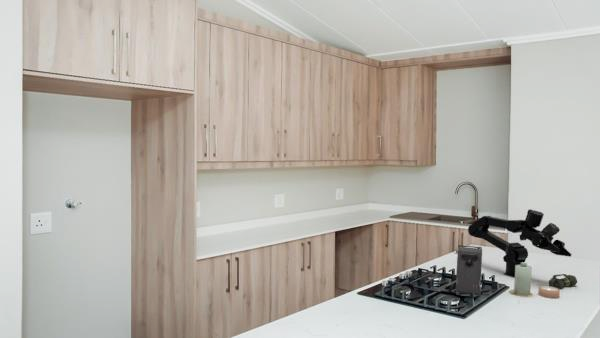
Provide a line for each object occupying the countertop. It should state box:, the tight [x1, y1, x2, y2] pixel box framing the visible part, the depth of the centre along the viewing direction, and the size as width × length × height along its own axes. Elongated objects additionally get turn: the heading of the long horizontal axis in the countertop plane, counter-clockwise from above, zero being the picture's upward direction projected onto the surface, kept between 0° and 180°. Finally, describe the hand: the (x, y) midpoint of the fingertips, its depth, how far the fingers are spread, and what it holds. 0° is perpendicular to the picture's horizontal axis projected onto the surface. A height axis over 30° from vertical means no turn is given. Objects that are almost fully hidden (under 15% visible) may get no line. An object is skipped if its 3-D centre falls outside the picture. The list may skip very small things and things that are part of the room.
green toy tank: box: [548, 273, 578, 290], centre depth 220 cm, size 6×5×18 cm
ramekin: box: [537, 285, 561, 299], centre depth 205 cm, size 8×8×3 cm
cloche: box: [513, 262, 533, 297], centre depth 206 cm, size 6×6×12 cm
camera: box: [453, 244, 483, 297], centre depth 210 cm, size 11×17×20 cm, turn 161°
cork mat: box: [508, 289, 534, 298], centre depth 207 cm, size 9×9×1 cm
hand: (565, 253), depth 215 cm, fingers open, 9 cm apart
